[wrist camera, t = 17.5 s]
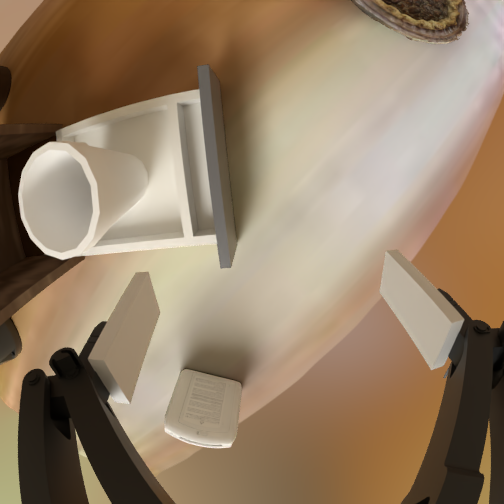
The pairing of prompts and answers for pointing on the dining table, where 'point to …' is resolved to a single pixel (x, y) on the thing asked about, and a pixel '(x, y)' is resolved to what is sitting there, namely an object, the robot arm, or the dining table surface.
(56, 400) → the robot arm
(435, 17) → the pie
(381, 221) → the dining table surface
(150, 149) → the tray
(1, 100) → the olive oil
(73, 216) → the foam cup
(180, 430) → the photo printer
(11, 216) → the cabinet
